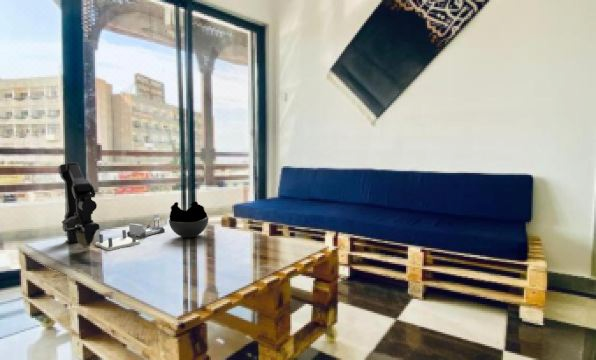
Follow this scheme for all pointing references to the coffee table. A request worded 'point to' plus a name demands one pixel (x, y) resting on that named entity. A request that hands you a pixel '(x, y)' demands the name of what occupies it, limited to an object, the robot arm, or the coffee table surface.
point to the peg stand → (117, 241)
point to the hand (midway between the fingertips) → (86, 243)
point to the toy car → (144, 232)
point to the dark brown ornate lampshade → (82, 239)
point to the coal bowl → (188, 220)
